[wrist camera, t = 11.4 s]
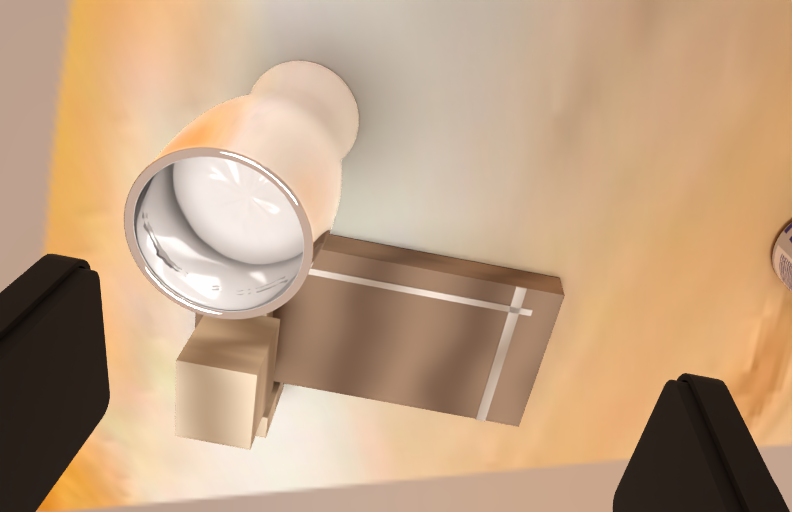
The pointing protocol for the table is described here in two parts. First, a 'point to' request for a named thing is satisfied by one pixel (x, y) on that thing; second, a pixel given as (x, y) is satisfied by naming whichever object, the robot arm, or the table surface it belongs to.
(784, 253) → the energy drink
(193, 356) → the stacked wooden blocks
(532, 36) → the table surface
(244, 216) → the beer glass
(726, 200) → the table surface
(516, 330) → the board
